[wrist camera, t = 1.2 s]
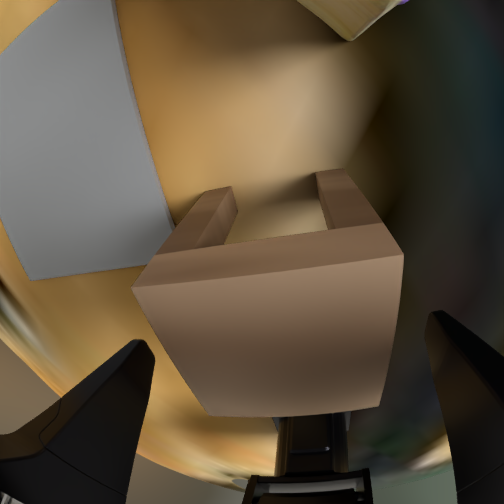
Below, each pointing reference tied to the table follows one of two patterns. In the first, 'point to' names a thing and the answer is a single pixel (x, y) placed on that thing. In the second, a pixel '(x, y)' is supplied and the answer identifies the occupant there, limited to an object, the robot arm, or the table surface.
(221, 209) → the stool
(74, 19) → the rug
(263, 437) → the table surface
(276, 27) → the table surface
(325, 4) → the toy sofa
